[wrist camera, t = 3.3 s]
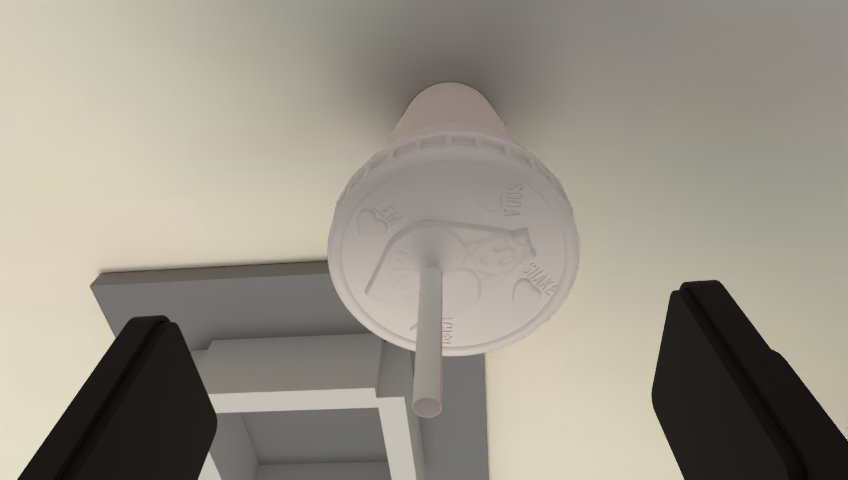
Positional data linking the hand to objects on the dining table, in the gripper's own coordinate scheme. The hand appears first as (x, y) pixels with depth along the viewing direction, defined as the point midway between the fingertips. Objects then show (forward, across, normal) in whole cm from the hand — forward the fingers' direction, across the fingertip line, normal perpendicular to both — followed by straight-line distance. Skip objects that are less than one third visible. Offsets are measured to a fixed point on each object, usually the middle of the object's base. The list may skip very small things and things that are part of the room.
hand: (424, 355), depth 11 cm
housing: (+13, +7, +15) cm, 21 cm away
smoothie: (+13, -1, 0) cm, 13 cm away
